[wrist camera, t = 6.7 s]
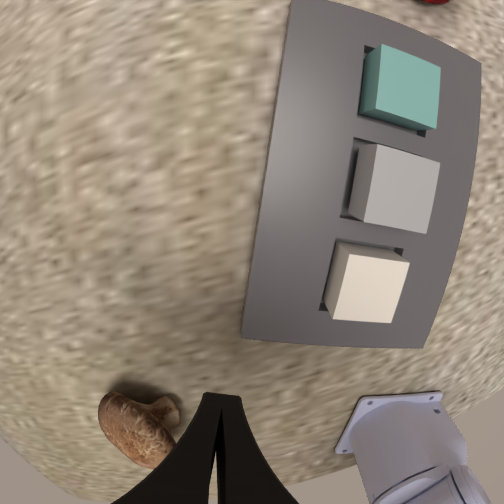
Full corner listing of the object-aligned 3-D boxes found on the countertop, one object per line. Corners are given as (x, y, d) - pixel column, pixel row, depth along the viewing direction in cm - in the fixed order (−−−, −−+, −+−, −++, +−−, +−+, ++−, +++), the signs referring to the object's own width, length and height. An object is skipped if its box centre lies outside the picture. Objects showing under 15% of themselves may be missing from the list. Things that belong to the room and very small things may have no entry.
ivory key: (392, 250, 19) (409, 262, 17) (376, 305, 21) (390, 323, 18) (336, 241, 19) (349, 254, 17) (322, 300, 20) (332, 319, 18)
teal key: (419, 75, 16) (440, 67, 13) (414, 130, 17) (436, 129, 15) (365, 55, 16) (381, 43, 13) (359, 113, 17) (375, 108, 14)
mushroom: (202, 409, 20) (147, 473, 16) (208, 439, 25) (168, 488, 21) (122, 352, 23) (70, 403, 19) (143, 394, 28) (103, 436, 24)
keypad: (468, 66, 16) (481, 63, 15) (414, 337, 23) (422, 348, 21) (290, 3, 15) (293, -7, 14) (240, 325, 22) (240, 338, 20)
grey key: (417, 161, 17) (440, 163, 14) (405, 223, 18) (426, 234, 15) (359, 144, 17) (377, 143, 14) (347, 212, 18) (363, 221, 15)
